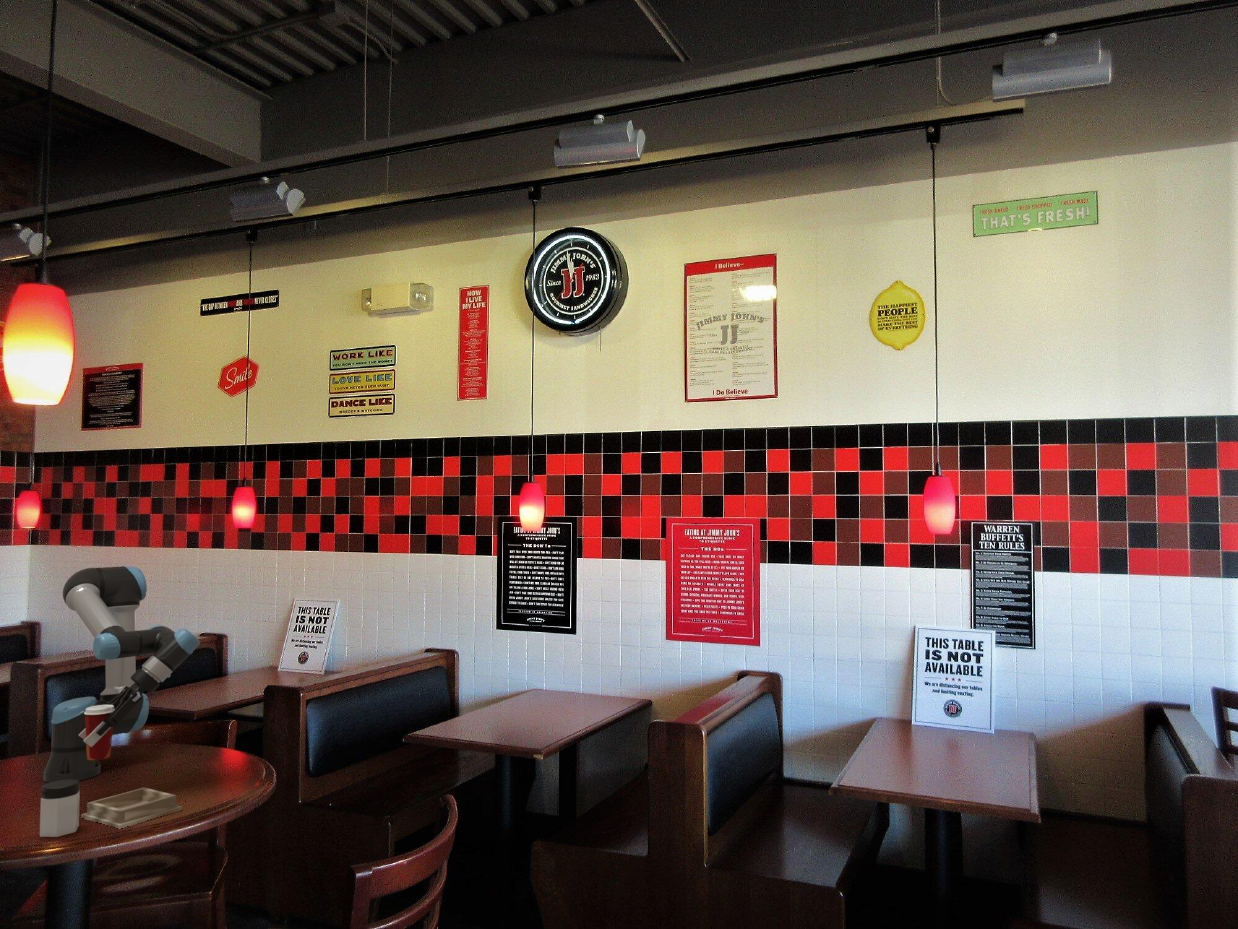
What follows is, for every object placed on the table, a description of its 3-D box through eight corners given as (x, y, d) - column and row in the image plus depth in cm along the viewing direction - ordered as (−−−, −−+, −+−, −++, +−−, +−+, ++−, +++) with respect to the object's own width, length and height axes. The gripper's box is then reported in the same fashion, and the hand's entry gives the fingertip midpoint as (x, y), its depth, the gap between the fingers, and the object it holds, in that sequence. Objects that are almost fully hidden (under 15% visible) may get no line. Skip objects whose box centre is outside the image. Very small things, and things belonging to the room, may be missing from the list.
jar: (43, 829, 224) (45, 781, 225) (80, 824, 227) (82, 777, 228) (36, 840, 216) (38, 790, 217) (75, 835, 219) (76, 786, 220)
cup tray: (81, 818, 232) (81, 802, 232) (143, 800, 247) (143, 786, 247) (119, 829, 223) (120, 813, 223) (181, 810, 238) (182, 795, 238)
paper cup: (120, 755, 247) (122, 705, 248) (96, 762, 240) (98, 710, 240) (100, 753, 249) (101, 703, 250) (75, 760, 242) (77, 709, 243)
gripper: (168, 688, 247) (102, 756, 236) (152, 678, 263) (89, 742, 252) (148, 672, 244) (79, 740, 233) (133, 663, 260) (68, 726, 249)
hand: (84, 741), depth 243 cm, fingers closed on paper cup, 8 cm apart
